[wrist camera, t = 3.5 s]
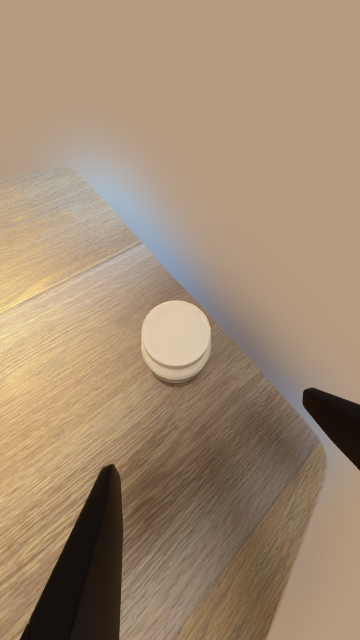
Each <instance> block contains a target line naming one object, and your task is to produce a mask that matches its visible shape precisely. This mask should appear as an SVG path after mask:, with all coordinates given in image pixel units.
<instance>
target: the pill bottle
mask: <svg viewBox="0 0 360 640" xmlns="http://www.w3.org/2000/svg"><path fill="white" fill-rule="evenodd" d="M141 337H142V341H141V351H142V355H143V358H144V361H145V363H146V364H147V366H148V368H149V369H150V370H151V371H152V373H153V374H154V376H155V377H156V378H157V379H158V380H159V381H160V382H161V383H163V384H165V385H168V386H171V387H180V386H184V385H186V384H188V383H190V382H191V381H193V380H194V379H195V378H196V376H197V375H198V374H199V373H200V371H201V370H202V369H203V368H204V366H205V365H206V363H207V361H208V359H209V356H210V352H211V328H210V324H209V321H208V319H207V317H206V316H205V314H204V313H203V312H202V311H201V310H200V309H199V308H197V307H196V306H194V305H193V304H190V303H188V302H184V301H168V302H164V303H162V304H160V305H158V306H156V307H155V308H153V309H152V310H151V311H150V312H149V313H148V315H147V316H146V318H145V320H144V322H143V325H142V331H141Z"/></svg>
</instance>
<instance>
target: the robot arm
mask: <svg viewBox="0 0 360 640" xmlns="http://www.w3.org/2000/svg"><path fill="white" fill-rule="evenodd" d="M303 406H304V407H305V409H306V410H307V411H308V412H309V414H310V415H311V416H312V417H313V419H314V420H315V421H316V422H317V424H318V425H319V426H320V427H321V428H322V430H323V431H324V432H325V433H326V435H327V436H328V437H329V438H330V439H331V440H332V441H333V443H334V444H335V445H336V446H337V447H338V448H339V449H340V450H341V451H342V452H343V453H344V454H345V455H346V456H347V457H348V458H349V460H350V461H352V463H353V464H354V465H355V466H356V467H357V468H358V469H359V470H360V405H359V404H357V403H354V402H351V401H348V400H345V399H343V398H340V397H337V396H335V395H332V394H329V393H326V392H323V391H321V390H318V389H315V388H308V389H306V390H304V392H303ZM122 551H123V516H122V496H121V479H120V475H119V473H118V471H117V469H116V467H115V466H114V464H110V465H107V466H105V467H103V468H102V469H101V471H100V473H99V475H98V477H97V480H96V482H95V484H94V486H93V488H92V490H91V492H90V494H89V496H88V498H87V500H86V503H85V505H84V507H83V509H82V511H81V513H80V515H79V517H78V519H77V521H76V523H75V525H74V528H73V530H72V532H71V534H70V536H69V538H68V540H67V542H66V544H65V546H64V548H63V550H62V553H61V555H60V557H59V559H58V561H57V563H56V565H55V567H54V569H53V571H52V573H51V576H50V578H49V580H48V582H47V584H46V586H45V588H44V590H43V592H42V594H41V596H40V598H39V601H38V603H37V605H36V607H35V609H34V611H33V613H32V615H31V617H30V620H29V624H27V625H26V627H25V629H24V632H23V634H22V636H21V638H20V640H119V630H120V604H121V578H122Z"/></svg>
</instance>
